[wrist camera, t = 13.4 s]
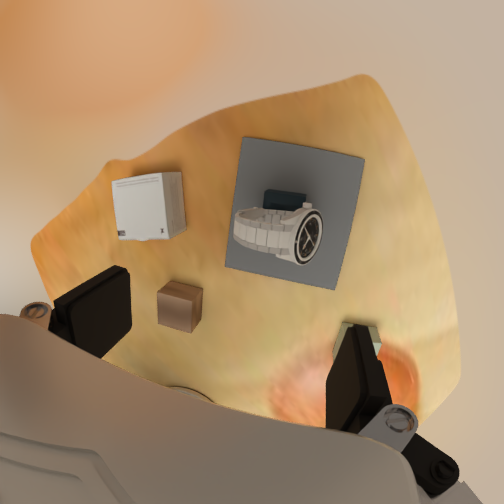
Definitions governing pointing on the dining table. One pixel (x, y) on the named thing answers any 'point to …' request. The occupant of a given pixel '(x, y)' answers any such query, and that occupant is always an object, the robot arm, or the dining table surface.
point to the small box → (149, 206)
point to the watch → (281, 227)
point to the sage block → (344, 326)
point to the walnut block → (179, 306)
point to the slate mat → (318, 194)
